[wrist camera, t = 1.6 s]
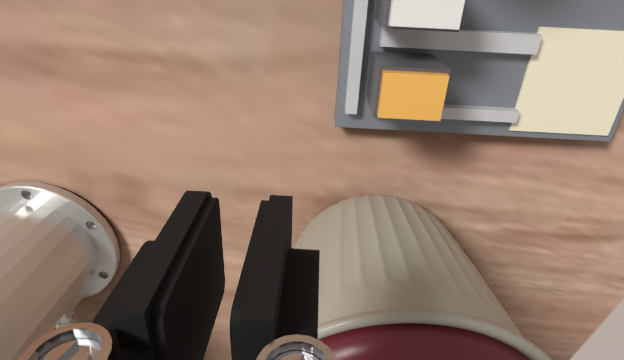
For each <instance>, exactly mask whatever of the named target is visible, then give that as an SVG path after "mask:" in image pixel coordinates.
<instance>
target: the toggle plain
mask: <svg viewBox="0 0 624 360" xmlns="http://www.w3.org/2000/svg"><path fill="white" fill-rule="evenodd" d="M464 4H465V0H377V6H376V15H375V19H376V20H377V21H378V22H379V23H380V25H381V26H382V27H383V28H386V29H406V30H425V31H444V32H459V28H460V24H461V19H462V14H463V9H464Z"/></svg>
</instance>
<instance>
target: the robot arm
mask: <svg viewBox="0 0 624 360" xmlns="http://www.w3.org/2000/svg"><path fill="white" fill-rule="evenodd" d="M291 241H292V196H278V195H270V198H269V201H264V200H262V201H261V204H260V207H259V211H258V214H257V218H256V222H255V225H254V229H253V232H252V236H251V240H250V243H249V247H248V251H247V254H246V258H245V261H244V265H243V269H242V272H241V276H240V279H239V283H238V287H237V290H236V294H235V298H234V301H233V305H232V310H231V316H230V341H231V355H232V360H337V358H336V356H335V355H334V353H333V352H332V351H331V349H330V348H329V347H328V346H327V345H325V344H324V343H323V342H322V341H320V340H318V303H319V260H320V250H312V249H294V248H291ZM119 263H120V249H119V244H118V240H117V238H116V236H115V234H114V232H113V230H112V228H111V227H110V225H109V224H108V222H107V221H106V219H105V218H104V217H103V216H102V215H101V214H100V213H99V212H98V211H97V210H96V209H95V208H94V207H92V206H91V205H90V204H89V203H87V202H86V201H85V200H83V199H82V198H80V197H78V196H76V195H75V194H73V193H71V192H69V191H66V190H64V189H62V188H59V187H57V186H53V185H49V184H45V183H40V182H30V181H24V182H13V183H9V184H6V185H2V186H0V360H203V358H204V355H205V351H206V348H207V345H208V342H209V339H210V335H211V332H212V329H213V326H214V323H215V319H216V316H217V313H218V310H219V307H220V303H221V300H222V297H223V294H224V288H225V275H224V261H223V248H222V234H221V221H220V207H219V200H218V198H212V196H211V193H210V192H204V191H186V192H185V193H184V195H183V196H182V198H181V200H180V201H179V203H178V204H177V206H176V208H175V209H174V211H173V213H172V214H171V216H170V217H169V219H168V221H167V222H166V224H165V225H164V227H163V229H162V230H161V232H160V233H159V235H158V237H157V238H156V240H155V241H147V242H145V243H144V244H143V246H142V247H141V248H140V250H139V251H138V253H137V255H136V256H135V258H134V259H133V261H132V262H131V264H130V265H129V267H128V268H127V270H126V271H125V273H124V274H123V276H122V277H121V279H120V280H119V282H118V283H117V285H116V286H115V288H114V290H113V291H112V293H111V294H110V296H109V297H108V299H107V300H106V302H105V303H104V305H103V306H102V308H101V309H100V311H99V312H98V314H97V315H96V317H95V318H94V320H93V321H92V323H76V321H75V318H74V315H73V314H72V311H73V310H74V309H75V307H76V306H77V305H78V303H79V302H80V301H81V299H82V298H86V297H89V296H92V295H94V294H96V293H98V292H100V291H101V290H102V289H104V288H105V287H106V286H107V285H108V283H109V282H110V281H111V280H112V278H113V276H114V275H115V273H116V272H117V270H118V266H119ZM57 323H58V325H59V328H57V329H56V327H55V326H56V324H57Z"/></svg>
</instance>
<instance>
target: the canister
mask: <svg viewBox="0 0 624 360" xmlns="http://www.w3.org/2000/svg"><path fill="white" fill-rule="evenodd" d="M294 249H312V250H320V260H319V303H318V340H320V341H322V342H323V343H324V344H325V345H327V346H328V347H329V348H330V349H331V351H332V352H333V353H334V355H335V356H336V358H337V360H552V359H551V358H550V357H549V356H548V355H547V354H546V353H545V352H543V351H542V350H541V349H540V348H538V347H537V346H536V345H534V344H533V343H532V342H530V341H529V340H527V339H526V338H524V337H523V336H522V334H521V333H520V331H519V330H518V328H517V327H516V325H515V324H514V323H513V321H512V320H511V318H510V317H509V315H508V314H507V313H506V311H505V310H504V308H503V307H502V305H501V304H500V303H499V301H498V300H497V298H496V297H495V295H494V294H493V292H492V291H491V290H490V288H489V287H488V285H487V284H486V282H485V281H484V279H483V278H482V276H481V275H480V274H479V272H478V271H477V269H476V268H475V267H474V265H473V264H472V262H471V261H470V260H469V258H468V257H467V256H466V254H465V253H464V252H463V250H462V249H461V248H460V246H459V245H458V244H457V242H456V241H455V240H454V238H453V237H452V236H451V234H450V233H449V232H448V230H447V229H446V228H445V226H444V225H443V224H442V223H441V222H440V221H439V220H437V219H436V218H435V217H434V216H433V215H432V214H431V213H430V212H428V211H427V210H424V209H422V207H420V206H419V205H418V204H415V203H411V202H409V201H408V200H406V199H399V198H396V197H395V196H384V195H381V194H378V195H369V194H366V195H364V196H354V197H352V198H350V199H346V200H345V199H344V200H342V201H340V202H339V203H336V204H332V205H331V206H329V208H327V209H326V210H323V211H321V212H320V213H319V214H318V216H317V217H315V218H313V219H312V220H311V221H310V222H309V224H308V226H307V227H306V228H304V230H303V231H302V233H301V234H300V237H299V239H298V240H297V241H296V243H295V246H294Z"/></svg>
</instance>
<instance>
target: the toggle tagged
mask: <svg viewBox="0 0 624 360" xmlns="http://www.w3.org/2000/svg"><path fill="white" fill-rule="evenodd" d="M450 72H451V70H450V69H449V68H448V67H447V66H446V65H444V64H443V63H442V62H441V61H440V60H439V59H437V58H436V57H435V56H434V55H433V54H416V53H397V52H378V51H371V60H370V69H369V78H368V87H367V99H368V102H369V105H370V109H371V112H372V115H373V117H375V118H392V119H411V120H430V121H441V116H442V112H443V107H444V102H445V97H446V92H447V87H448V82H449V77H450Z"/></svg>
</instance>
